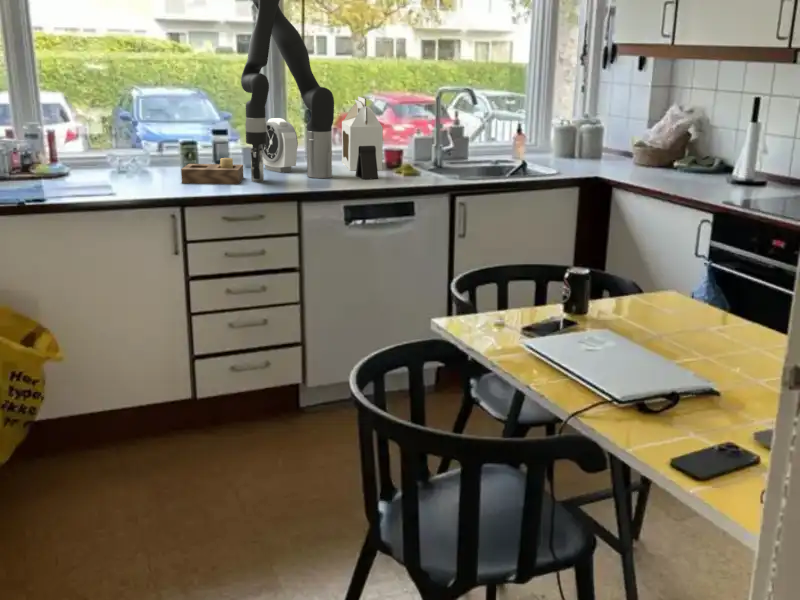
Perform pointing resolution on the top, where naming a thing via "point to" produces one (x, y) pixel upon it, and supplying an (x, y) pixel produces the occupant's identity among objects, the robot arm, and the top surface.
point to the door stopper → (367, 163)
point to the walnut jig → (213, 173)
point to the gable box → (360, 134)
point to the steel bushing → (260, 172)
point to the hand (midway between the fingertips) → (257, 177)
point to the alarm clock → (280, 146)
